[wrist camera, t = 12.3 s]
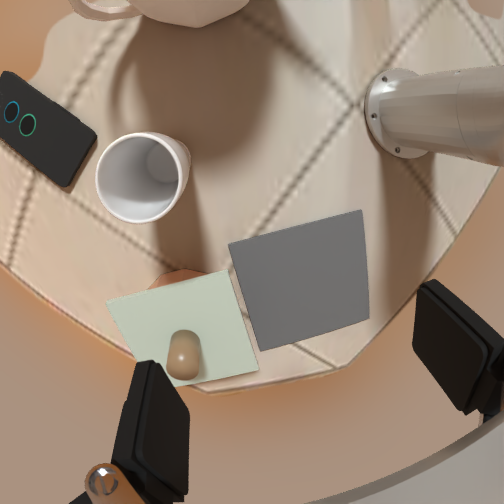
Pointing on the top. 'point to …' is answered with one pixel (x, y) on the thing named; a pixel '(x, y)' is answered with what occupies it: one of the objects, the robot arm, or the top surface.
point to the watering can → (164, 10)
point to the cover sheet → (187, 329)
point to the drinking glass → (142, 176)
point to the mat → (304, 279)
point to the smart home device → (42, 130)
